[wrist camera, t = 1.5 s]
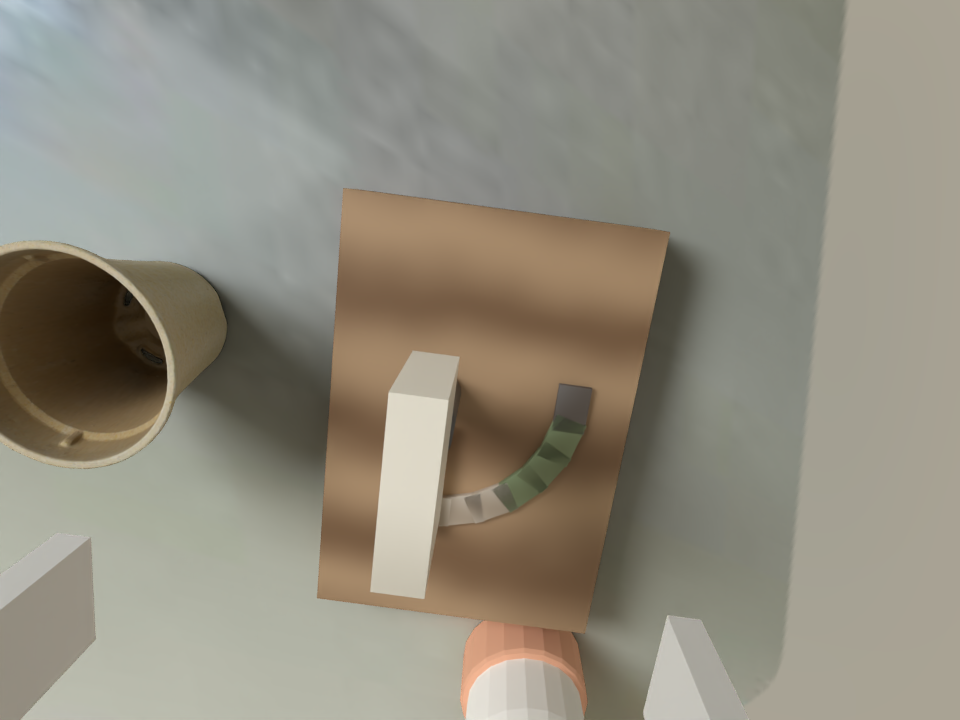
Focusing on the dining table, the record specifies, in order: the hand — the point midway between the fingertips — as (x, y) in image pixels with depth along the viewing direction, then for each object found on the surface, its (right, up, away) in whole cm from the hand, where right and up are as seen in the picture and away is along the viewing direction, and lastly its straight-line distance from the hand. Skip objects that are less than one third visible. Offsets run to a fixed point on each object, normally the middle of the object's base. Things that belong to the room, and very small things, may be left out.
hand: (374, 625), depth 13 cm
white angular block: (0, +3, +16) cm, 16 cm away
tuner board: (+2, +3, +19) cm, 19 cm away
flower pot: (-14, +8, +18) cm, 25 cm away
